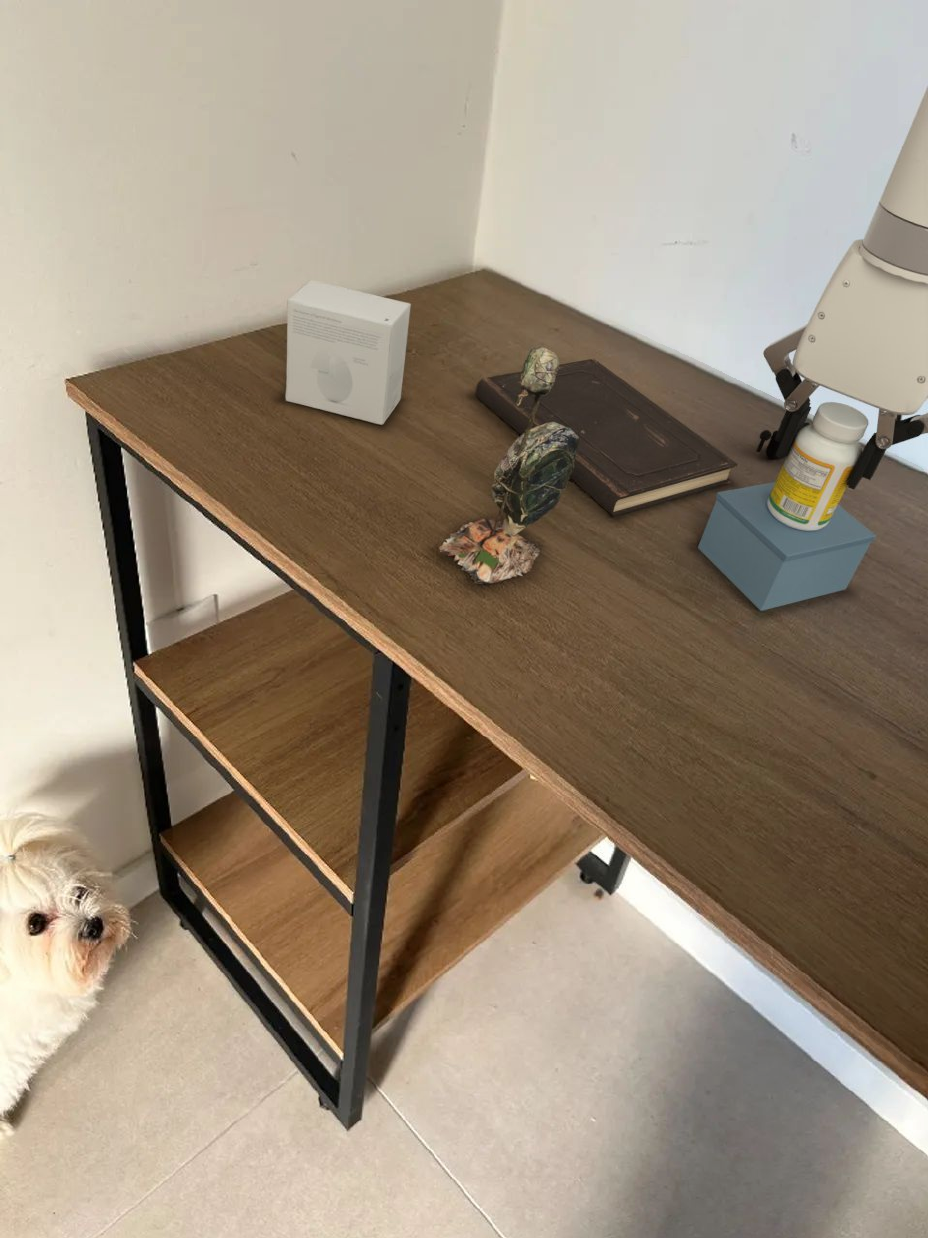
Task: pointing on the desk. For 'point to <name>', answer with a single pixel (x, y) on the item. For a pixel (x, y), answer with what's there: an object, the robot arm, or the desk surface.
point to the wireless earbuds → (771, 443)
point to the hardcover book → (614, 437)
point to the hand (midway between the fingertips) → (819, 464)
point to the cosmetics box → (346, 351)
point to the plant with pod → (520, 487)
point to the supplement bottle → (818, 467)
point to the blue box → (780, 549)
